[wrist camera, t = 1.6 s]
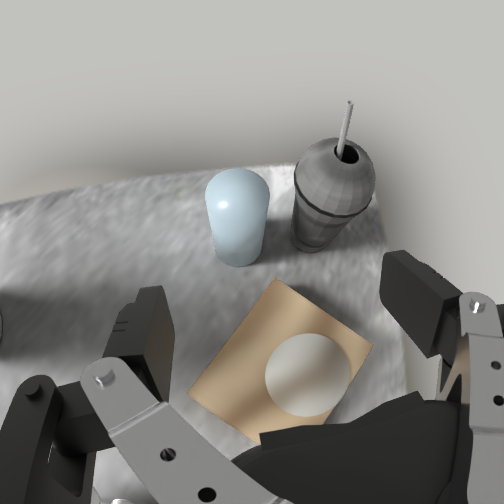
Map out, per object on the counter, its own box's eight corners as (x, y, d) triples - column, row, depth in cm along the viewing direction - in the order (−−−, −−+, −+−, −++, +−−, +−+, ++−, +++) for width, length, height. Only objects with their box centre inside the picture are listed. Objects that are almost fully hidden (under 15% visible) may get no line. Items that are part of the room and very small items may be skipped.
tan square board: (193, 390, 30) (185, 393, 26) (271, 288, 34) (275, 276, 30) (286, 452, 28) (292, 464, 23) (358, 348, 32) (374, 344, 28)
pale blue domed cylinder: (205, 249, 36) (192, 200, 26) (233, 215, 37) (231, 158, 27) (243, 276, 35) (244, 235, 25) (270, 240, 36) (282, 189, 26)
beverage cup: (311, 277, 35) (381, 173, 16) (266, 234, 37) (288, 103, 18) (350, 236, 37) (427, 124, 18) (306, 198, 39) (349, 69, 20)
